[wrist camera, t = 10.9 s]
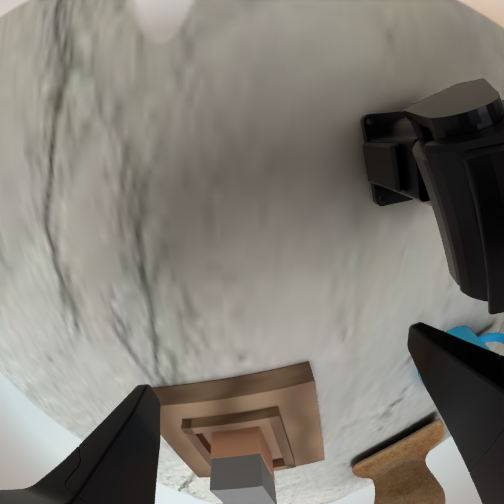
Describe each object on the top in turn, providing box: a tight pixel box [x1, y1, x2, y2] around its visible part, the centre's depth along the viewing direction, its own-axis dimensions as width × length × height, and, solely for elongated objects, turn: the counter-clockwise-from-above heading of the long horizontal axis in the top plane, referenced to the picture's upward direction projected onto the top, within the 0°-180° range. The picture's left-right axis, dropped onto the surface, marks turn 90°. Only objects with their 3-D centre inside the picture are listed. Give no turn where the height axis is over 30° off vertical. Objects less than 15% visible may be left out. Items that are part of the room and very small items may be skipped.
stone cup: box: [352, 418, 445, 504], centre depth 27 cm, size 15×12×15 cm
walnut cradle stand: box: [152, 362, 325, 477], centre depth 26 cm, size 16×16×4 cm
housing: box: [210, 426, 277, 504], centre depth 22 cm, size 7×4×7 cm, turn 14°
